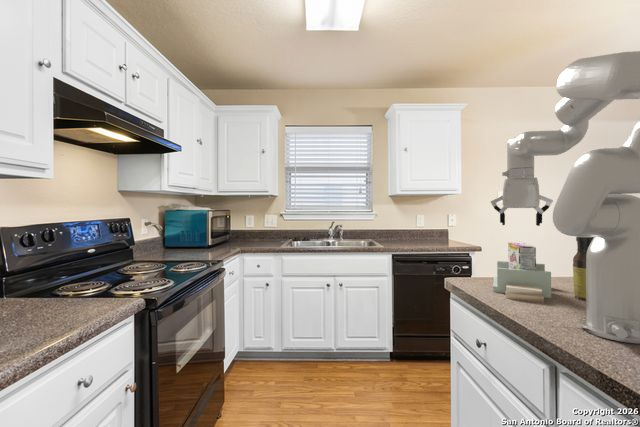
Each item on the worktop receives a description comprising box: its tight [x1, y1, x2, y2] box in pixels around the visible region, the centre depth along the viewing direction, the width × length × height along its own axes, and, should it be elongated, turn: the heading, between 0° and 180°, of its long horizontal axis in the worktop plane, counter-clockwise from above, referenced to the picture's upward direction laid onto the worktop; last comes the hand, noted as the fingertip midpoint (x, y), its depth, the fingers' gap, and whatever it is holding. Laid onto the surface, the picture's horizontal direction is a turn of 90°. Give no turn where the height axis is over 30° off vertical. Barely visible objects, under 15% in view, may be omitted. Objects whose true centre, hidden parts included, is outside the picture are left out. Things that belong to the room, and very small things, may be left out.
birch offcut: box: [505, 293, 545, 303], centre depth 90 cm, size 5×9×2 cm, turn 57°
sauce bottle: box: [572, 236, 595, 302], centre depth 88 cm, size 6×6×20 cm
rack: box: [492, 260, 552, 299], centre depth 100 cm, size 16×15×9 cm
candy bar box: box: [507, 242, 537, 271], centre depth 100 cm, size 11×5×16 cm, turn 164°
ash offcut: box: [505, 284, 542, 297], centre depth 90 cm, size 4×9×2 cm, turn 56°
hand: (520, 225), depth 100 cm, fingers open, 9 cm apart
